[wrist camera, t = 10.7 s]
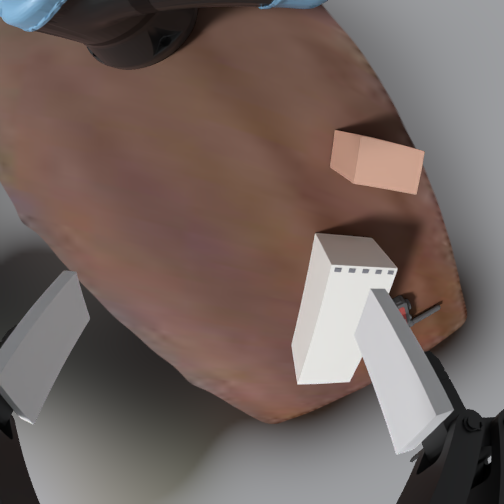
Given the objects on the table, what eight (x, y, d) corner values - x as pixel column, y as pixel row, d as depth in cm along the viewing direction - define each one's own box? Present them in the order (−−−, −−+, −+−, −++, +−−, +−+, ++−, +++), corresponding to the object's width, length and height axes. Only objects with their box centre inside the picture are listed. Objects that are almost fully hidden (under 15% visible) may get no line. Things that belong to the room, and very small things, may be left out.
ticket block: (315, 232, 39) (331, 265, 31) (372, 237, 40) (398, 268, 32) (291, 345, 49) (297, 384, 41) (338, 345, 50) (350, 382, 41)
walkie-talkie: (350, 350, 51) (437, 305, 47) (356, 366, 47) (447, 319, 43) (338, 322, 48) (433, 273, 43) (344, 339, 44) (446, 286, 39)
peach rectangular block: (334, 129, 32) (360, 135, 24) (389, 141, 33) (424, 151, 25) (329, 167, 35) (353, 183, 27) (383, 175, 35) (416, 194, 27)
